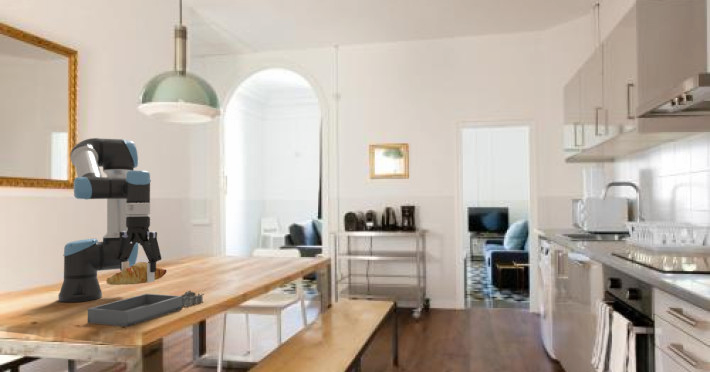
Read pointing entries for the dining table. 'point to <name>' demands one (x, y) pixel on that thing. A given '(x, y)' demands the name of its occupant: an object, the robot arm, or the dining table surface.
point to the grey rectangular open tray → (134, 309)
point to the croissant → (134, 275)
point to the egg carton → (191, 298)
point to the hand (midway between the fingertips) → (137, 281)
